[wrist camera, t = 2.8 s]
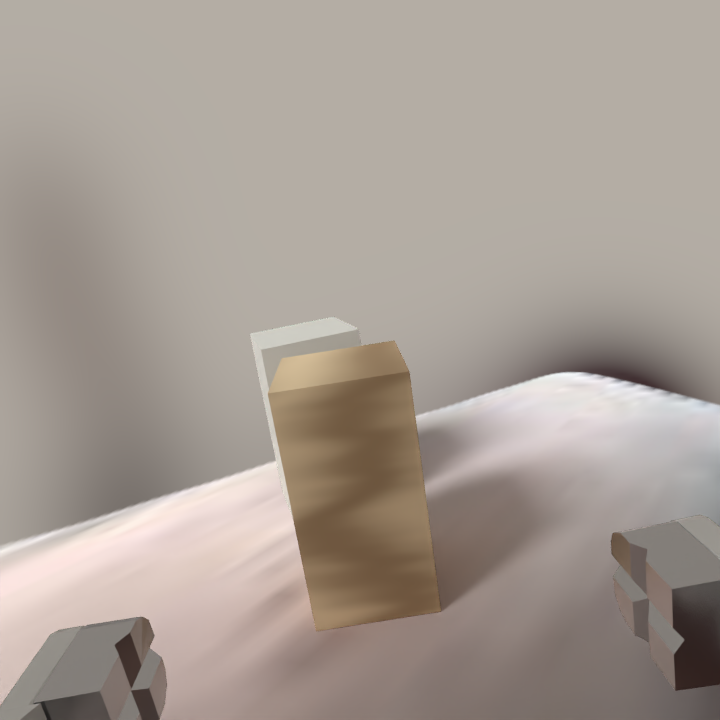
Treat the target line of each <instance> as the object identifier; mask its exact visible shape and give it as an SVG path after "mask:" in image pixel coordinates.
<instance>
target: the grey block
mask: <svg viewBox="0 0 720 720" xmlns="http://www.w3.org/2000/svg"><path fill="white" fill-rule="evenodd" d="M250 336H251V341H252V346H253V351H254V356H255V360H256V365H257V370H258V375H259V380H260V385H261V390H262V394H263V399H264V404H265V409H266V413H267V419H268V424H269V428H270V433H271V438H272V443H273V448H274V452H275V458H276V462H277V467H278V472H279V477H280V482H281V487H282V491H283V494H284V497H285V499H286V502H287V505H288V507H289V510H290V512H291V515H292V510H291V505H290V500H289V496H288V491H287V486H286V481H285V476H284V471H283V466H282V461H281V456H280V452H279V447H278V442H277V437H276V432H275V427H274V422H273V417H272V412H271V408H270V403H269V398H268V391H269V389H270V386H271V384H272V381H273V379H274V376H275V374H276V371H277V369H278V366H279V364H280V361H281V359H282V358H286V357H293V356H299V355H305V354H312V353H318V352H325V351H331V350H337V349H344V348H350V347H357V346H361V340H360V333H359V329H358V328H356V327H353V326H352V325H350V324H348V323H345V322H343V321H342V320H340V319H338V318H335V317H331V318H325V319H320V320H315V321H311V322H305V323H301V324H296V325H291V326H286V327H281V328H276V329H271V330H266V331H261V332H256V333H251V334H250ZM292 518H293V515H292Z"/></svg>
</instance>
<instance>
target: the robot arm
mask: <svg viewBox="0 0 720 720" xmlns="http://www.w3.org/2000/svg"><path fill="white" fill-rule="evenodd" d="M611 551H612V555H613V556H614V558H615V559H616V560H617V561H618V562H619V564H620V566H619V568H618V570H617V571H616V573H615V574H614V576H613V580H614V590H615V596H616V599H617V602H618V605H619V609H620V611H621V613H622V615H623V617H624V619H625V621H626V623H627V624H628V626H629V627H630V629H631V630H632V632H633V633H634V635H636V636H638V637H640V638H642V639H644V640H646V641H648V642H649V646H650V657H651V658H652V660H653V661H654V662H655V664H656V665H657V666H658V668H659V669H660V670H661V672H662V673H663V675H664V676H665V677H666V679H667V680H668V681H669V683H670V684H671V685H672V687H673V688H674V690H675V691H678V690H684V689H691V688H698V687H705V686H712V685H719V684H720V527H719V526H718V525H717V524H716V523H714V522H713V521H712V520H710V519H709V518H708V517H705V516H702V515H697V516H692V517H687V518H682V519H678V520H673V521H671V522H668V523H662V524H657V525H652V526H646V527H641V528H636V529H630V530H625V531H620V532H614V533H613V535H612V539H611ZM153 638H154V633H153V630H152V628H151V625H150V622H149V620H148V619H146V618H144V617H136V618H129V619H123V620H116V621H110V622H103V623H97V624H91V625H87V626H79V627H73V628H68V629H62V630H58V631H56V632H54V633H52V634H51V635H50V636H49V637H48V639H47V640H46V642H45V643H44V644H43V646H42V647H41V649H40V650H39V652H38V653H37V654H36V656H35V657H34V659H33V660H32V662H31V663H30V664H29V666H28V667H27V669H26V670H25V671H24V673H23V674H22V676H21V677H20V679H19V680H18V681H17V683H16V684H15V686H14V687H13V689H12V690H11V691H10V693H9V694H8V696H7V697H6V698H5V700H4V701H3V703H2V704H1V706H0V720H160V717H161V714H162V711H163V708H164V705H165V699H166V689H167V679H166V671H165V667H164V663H163V660H162V657H161V656H159V655H158V654H157V653H155V652H154V651H153V650H151V649H150V645H151V643H152V641H153Z"/></svg>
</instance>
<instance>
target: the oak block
mask: <svg viewBox="0 0 720 720" xmlns="http://www.w3.org/2000/svg"><path fill="white" fill-rule="evenodd" d="M268 398H269V403H270V408H271V412H272V417H273V422H274V427H275V432H276V437H277V442H278V447H279V452H280V456H281V461H282V466H283V471H284V476H285V481H286V486H287V491H288V496H289V500H290V505H291V510H292V515H293V520H294V525H295V530H296V535H297V540H298V544H299V549H300V554H301V559H302V564H303V569H304V574H305V579H306V584H307V588H308V593H309V598H310V603H311V608H312V613H313V618H314V623H315V628H316V631H321V630H328V629H334V628H340V627H347V626H353V625H359V624H366V623H372V622H378V621H385V620H391V619H397V618H404V617H410V616H416V615H423V614H429V613H435V612H441V607H440V599H439V592H438V584H437V577H436V569H435V562H434V554H433V546H432V539H431V531H430V524H429V516H428V509H427V501H426V494H425V486H424V479H423V471H422V463H421V456H420V448H419V441H418V433H417V426H416V418H415V411H414V404H413V396H412V388H411V380H410V373H409V370H408V368H407V366H406V363H405V361H404V359H403V357H402V355H401V353H400V351H399V349H398V347H397V345H396V343H395V341H389V342H382V343H376V344H369V345H363V346H357V347H350V348H344V349H337V350H331V351H325V352H318V353H312V354H305V355H299V356H293V357H286V358H282V359H281V361H280V364H279V366H278V369H277V371H276V374H275V376H274V379H273V381H272V384H271V386H270V389H269V391H268Z"/></svg>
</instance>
